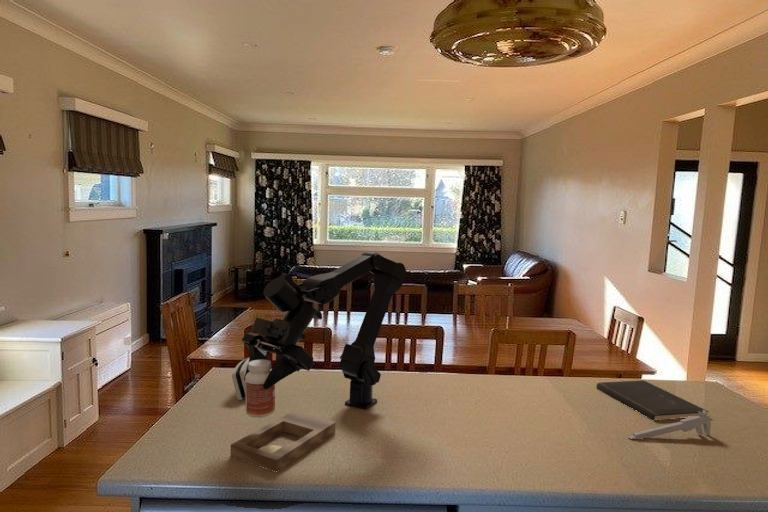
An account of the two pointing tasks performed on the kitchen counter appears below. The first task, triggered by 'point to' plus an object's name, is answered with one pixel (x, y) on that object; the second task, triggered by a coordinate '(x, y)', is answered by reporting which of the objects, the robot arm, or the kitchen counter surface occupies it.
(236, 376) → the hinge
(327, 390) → the kitchen counter surface
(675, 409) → the hardcover book
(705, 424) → the caliper
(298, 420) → the wooden rectangular frame
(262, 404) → the pill bottle
